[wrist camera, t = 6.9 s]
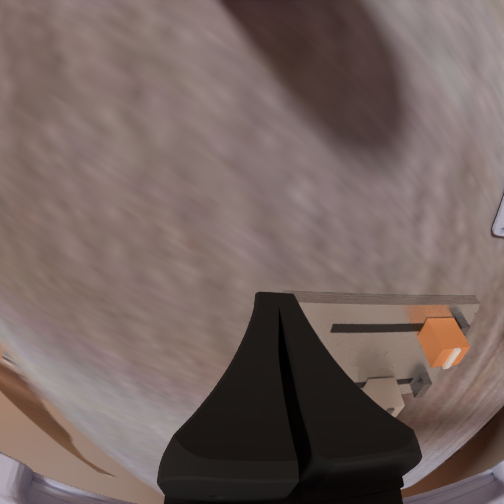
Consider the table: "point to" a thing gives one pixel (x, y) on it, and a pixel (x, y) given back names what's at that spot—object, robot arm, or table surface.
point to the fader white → (385, 394)
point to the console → (382, 332)
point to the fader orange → (442, 342)
